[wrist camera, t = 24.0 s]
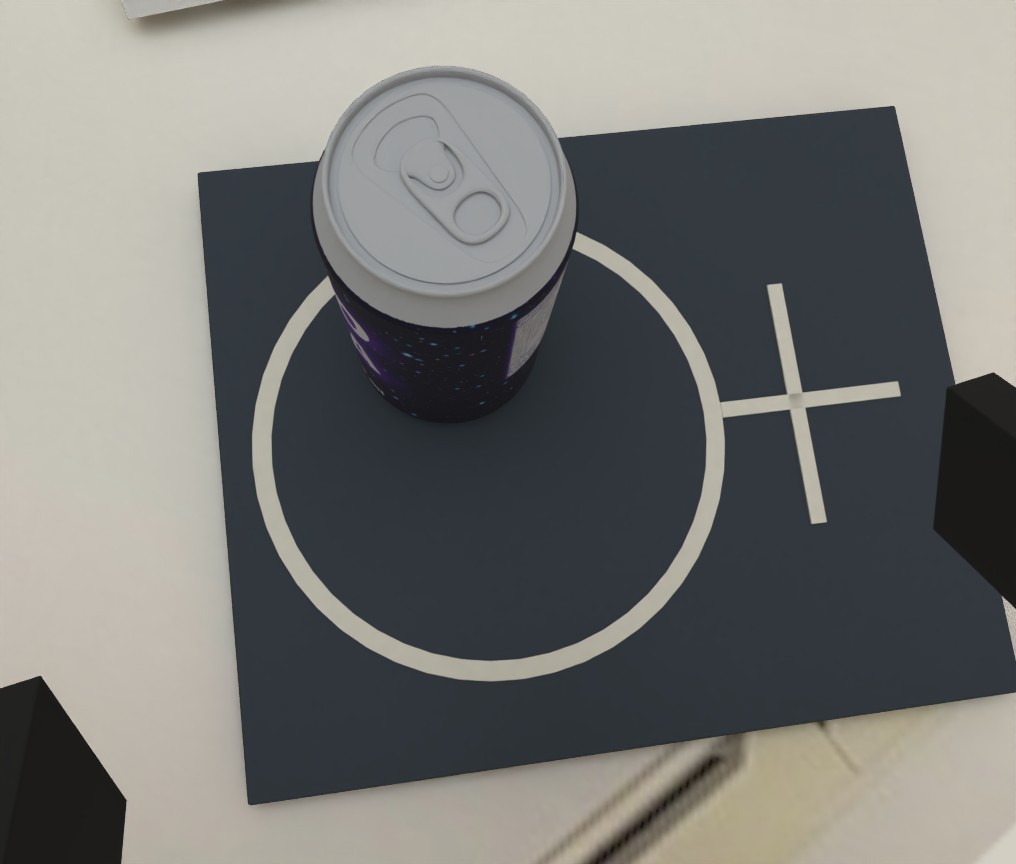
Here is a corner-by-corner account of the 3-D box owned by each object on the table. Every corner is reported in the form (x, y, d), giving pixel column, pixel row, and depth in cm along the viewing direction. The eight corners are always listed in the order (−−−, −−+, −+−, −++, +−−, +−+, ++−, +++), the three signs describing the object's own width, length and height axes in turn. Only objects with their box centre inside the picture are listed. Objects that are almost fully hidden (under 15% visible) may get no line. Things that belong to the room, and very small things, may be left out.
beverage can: (453, 224, 31) (452, -5, 20) (572, 347, 31) (645, 187, 19) (322, 337, 30) (239, 166, 19) (443, 465, 30) (436, 374, 18)
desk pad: (254, 799, 29) (246, 806, 28) (204, 184, 32) (195, 170, 31) (1005, 688, 31) (1025, 691, 30) (882, 119, 34) (896, 102, 33)
